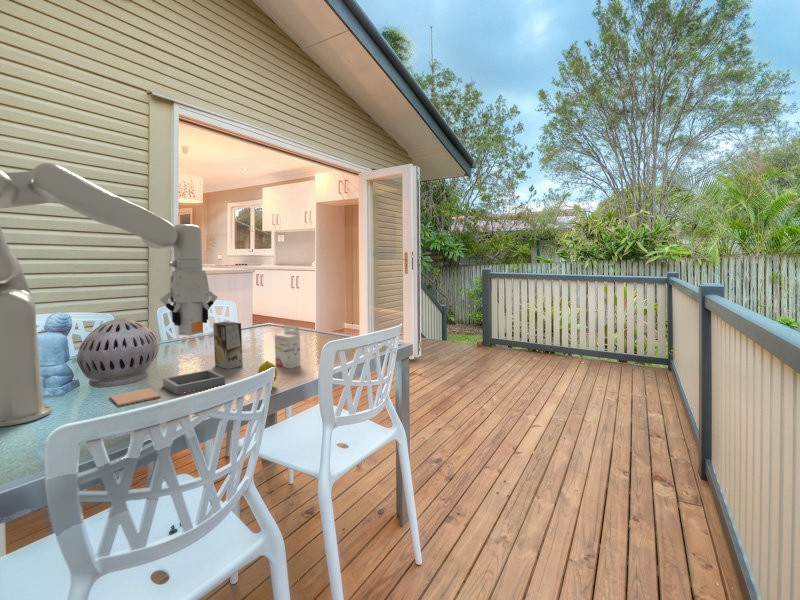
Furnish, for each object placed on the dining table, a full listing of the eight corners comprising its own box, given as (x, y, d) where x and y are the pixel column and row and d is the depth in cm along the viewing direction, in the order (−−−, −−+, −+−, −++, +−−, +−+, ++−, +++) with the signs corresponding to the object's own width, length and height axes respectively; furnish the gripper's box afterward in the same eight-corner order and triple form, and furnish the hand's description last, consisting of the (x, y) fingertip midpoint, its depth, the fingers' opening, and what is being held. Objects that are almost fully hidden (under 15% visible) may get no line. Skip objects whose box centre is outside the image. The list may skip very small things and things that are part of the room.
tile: (118, 406, 108) (118, 404, 108) (109, 398, 115) (109, 395, 115) (160, 397, 115) (160, 395, 115) (149, 389, 122) (149, 388, 122)
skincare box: (190, 336, 122) (188, 296, 121) (178, 335, 123) (176, 296, 122) (204, 332, 128) (202, 294, 127) (192, 332, 129) (190, 294, 128)
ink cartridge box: (274, 365, 151) (273, 326, 150) (285, 362, 155) (284, 324, 154) (290, 368, 146) (289, 328, 145) (301, 365, 151) (300, 326, 149)
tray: (177, 394, 118) (176, 386, 117) (163, 386, 126) (162, 378, 126) (225, 384, 128) (224, 376, 128) (209, 377, 136) (209, 369, 136)
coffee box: (243, 365, 151) (242, 323, 149) (227, 369, 146) (225, 325, 144) (230, 362, 156) (228, 320, 155) (214, 365, 151) (212, 322, 149)
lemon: (258, 390, 122) (257, 364, 121) (258, 384, 127) (258, 359, 127) (277, 388, 124) (276, 362, 123) (277, 383, 129) (276, 358, 128)
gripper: (160, 266, 114) (163, 328, 116) (222, 265, 127) (224, 322, 129) (152, 265, 120) (155, 325, 121) (212, 265, 132) (214, 319, 134)
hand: (190, 323), depth 125 cm, fingers closed on skincare box, 7 cm apart
